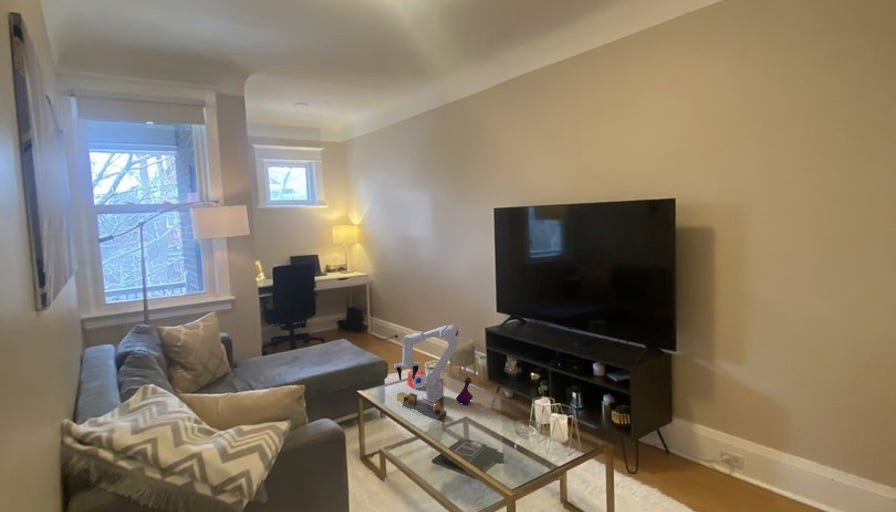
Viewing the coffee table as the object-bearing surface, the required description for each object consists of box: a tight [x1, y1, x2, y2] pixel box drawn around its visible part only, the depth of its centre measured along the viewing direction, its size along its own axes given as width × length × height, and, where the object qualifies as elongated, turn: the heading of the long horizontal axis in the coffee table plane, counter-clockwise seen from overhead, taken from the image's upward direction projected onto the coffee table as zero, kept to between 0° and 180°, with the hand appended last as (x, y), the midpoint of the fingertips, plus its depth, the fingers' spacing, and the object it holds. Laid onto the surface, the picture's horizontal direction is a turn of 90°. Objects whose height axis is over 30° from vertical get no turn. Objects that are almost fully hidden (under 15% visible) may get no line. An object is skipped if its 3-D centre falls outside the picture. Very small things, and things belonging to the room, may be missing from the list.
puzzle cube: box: [406, 369, 427, 390], centre depth 282 cm, size 8×8×8 cm
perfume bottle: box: [455, 371, 474, 405], centre depth 260 cm, size 8×8×18 cm
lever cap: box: [396, 391, 409, 404], centre depth 260 cm, size 4×6×4 cm, turn 45°
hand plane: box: [402, 392, 448, 421], centre depth 249 cm, size 7×24×7 cm, turn 55°
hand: (406, 379), depth 267 cm, fingers open, 7 cm apart
